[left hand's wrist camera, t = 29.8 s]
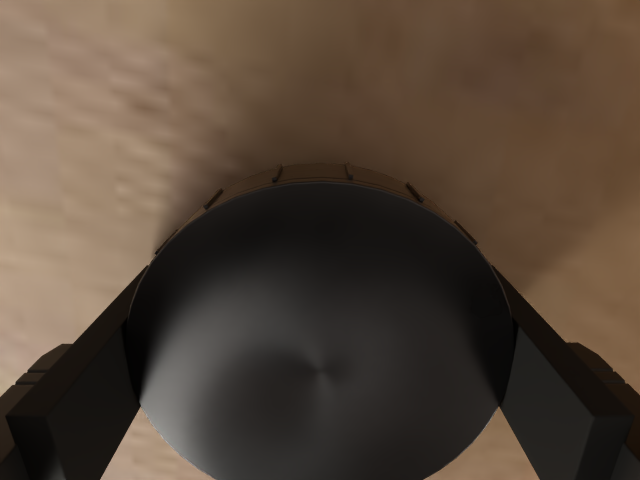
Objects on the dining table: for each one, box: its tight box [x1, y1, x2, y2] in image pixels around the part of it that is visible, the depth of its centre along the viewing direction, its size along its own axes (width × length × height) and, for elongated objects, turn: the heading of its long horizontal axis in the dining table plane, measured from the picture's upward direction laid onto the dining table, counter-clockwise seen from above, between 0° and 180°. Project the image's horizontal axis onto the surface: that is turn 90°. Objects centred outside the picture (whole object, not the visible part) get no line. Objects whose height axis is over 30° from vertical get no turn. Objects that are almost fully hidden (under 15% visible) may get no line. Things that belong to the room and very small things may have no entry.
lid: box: [125, 162, 514, 480], centre depth 12 cm, size 10×10×2 cm
